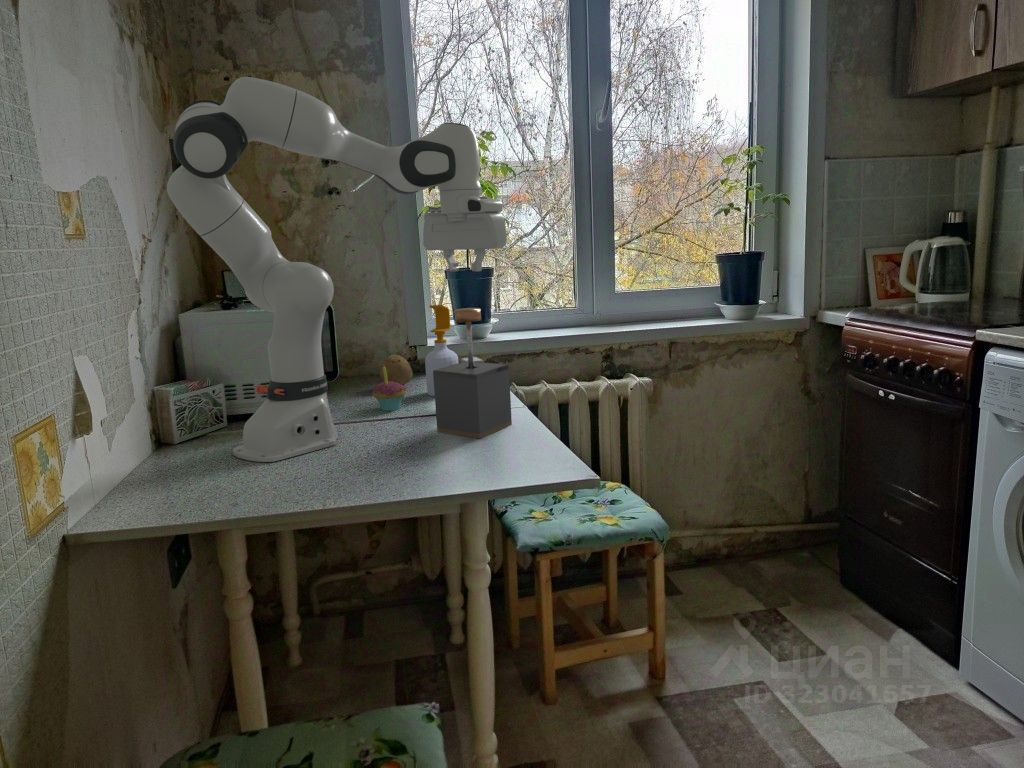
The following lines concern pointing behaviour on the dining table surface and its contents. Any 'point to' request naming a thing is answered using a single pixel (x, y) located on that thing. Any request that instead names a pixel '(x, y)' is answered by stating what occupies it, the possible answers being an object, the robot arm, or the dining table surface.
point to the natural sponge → (396, 369)
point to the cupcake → (389, 394)
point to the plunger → (468, 328)
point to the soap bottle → (439, 347)
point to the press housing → (472, 399)
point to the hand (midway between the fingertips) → (465, 271)
